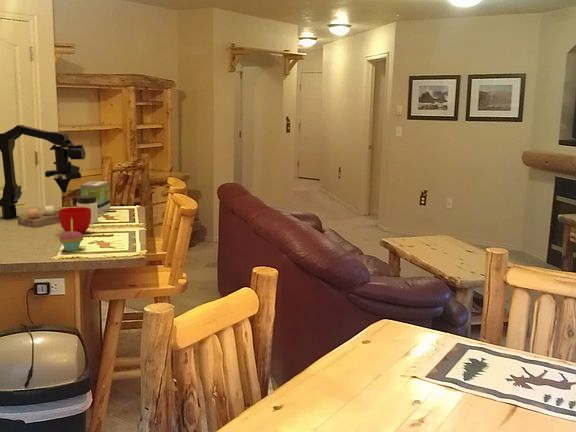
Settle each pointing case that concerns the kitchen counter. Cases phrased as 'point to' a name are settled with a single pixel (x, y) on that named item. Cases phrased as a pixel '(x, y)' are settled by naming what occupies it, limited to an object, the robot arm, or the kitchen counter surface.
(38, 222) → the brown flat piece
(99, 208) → the tea box
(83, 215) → the ceramic cup
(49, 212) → the cream button
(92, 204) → the jar
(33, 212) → the terracotta button
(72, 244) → the cupcake
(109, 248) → the kitchen counter surface
